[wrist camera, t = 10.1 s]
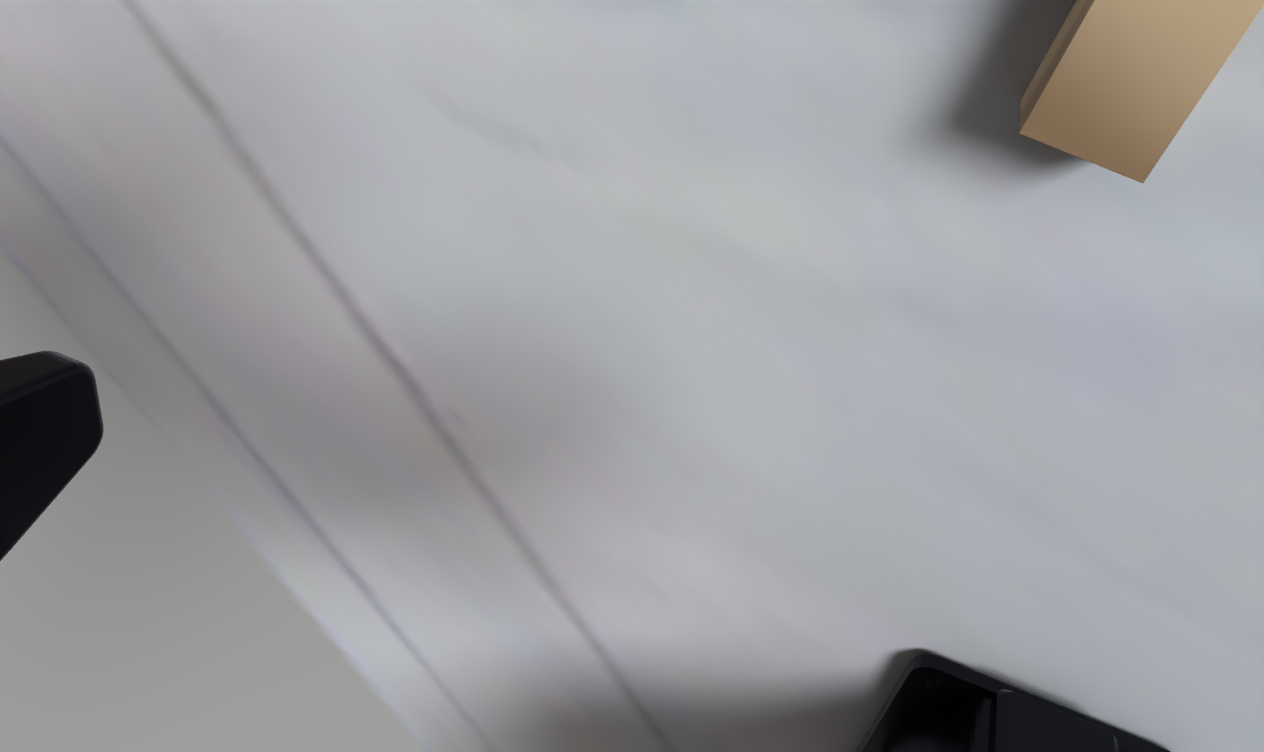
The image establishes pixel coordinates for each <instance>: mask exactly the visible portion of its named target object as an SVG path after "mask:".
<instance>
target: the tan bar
mask: <svg viewBox="0 0 1264 752" xmlns="http://www.w3.org/2000/svg"><path fill="white" fill-rule="evenodd" d="M1263 5H1264V0H1076V1H1075V3H1074V5H1073V6H1072V8H1071V10H1070V12H1069V14H1068V15H1067V17H1066V19H1065V21H1064V23H1063V25H1062V26H1061V28H1060V30H1059V32H1058V34H1057V35H1056V37H1055V39H1054V41H1053V43H1052V44H1051V46H1050V48H1049V50H1048V52H1047V53H1046V55H1045V57H1044V59H1043V61H1042V62H1041V64H1040V66H1039V68H1038V70H1037V71H1036V73H1035V75H1034V77H1033V79H1032V80H1031V82H1030V84H1029V86H1028V88H1027V89H1026V91H1025V93H1024V95H1023V97H1022V98H1021V100H1020V128H1019V133H1020V134H1022V135H1025V136H1027V137H1030V138H1032V139H1035V140H1037V141H1039V142H1042V143H1044V144H1047V145H1049V146H1052V147H1054V148H1057V149H1059V150H1062V151H1064V152H1067V153H1069V154H1072V155H1074V156H1076V157H1079V158H1081V159H1084V160H1086V161H1089V162H1091V163H1094V164H1096V165H1099V166H1101V167H1104V168H1106V169H1109V170H1111V171H1113V172H1116V173H1118V174H1121V175H1123V176H1126V177H1128V178H1131V179H1133V180H1136V181H1138V182H1141V183H1144V181H1145V180H1146V178H1147V177H1148V175H1149V174H1150V172H1151V171H1152V169H1153V168H1154V166H1155V165H1156V163H1157V162H1158V160H1159V159H1160V157H1161V156H1162V154H1163V153H1164V151H1165V150H1166V148H1167V147H1168V146H1169V144H1170V143H1171V141H1172V140H1173V138H1174V137H1175V135H1176V134H1177V132H1178V131H1179V129H1180V128H1181V126H1182V125H1183V123H1184V122H1185V120H1186V119H1187V117H1188V116H1189V114H1190V113H1191V111H1192V110H1193V108H1194V107H1195V106H1196V104H1197V103H1198V101H1199V100H1200V98H1201V97H1202V95H1203V94H1204V92H1205V91H1206V89H1207V88H1208V86H1209V85H1210V83H1211V82H1212V80H1213V79H1214V77H1215V76H1216V74H1217V73H1218V71H1219V70H1220V68H1221V67H1222V66H1223V64H1224V63H1225V61H1226V60H1227V58H1228V57H1229V55H1230V54H1231V52H1232V51H1233V49H1234V48H1235V46H1236V45H1237V43H1238V42H1239V40H1240V39H1241V37H1242V36H1243V34H1244V33H1245V31H1246V30H1247V28H1248V27H1249V26H1250V24H1251V23H1252V21H1253V20H1254V18H1255V17H1256V15H1257V14H1258V12H1259V11H1260V9H1261V8H1262V6H1263Z"/></svg>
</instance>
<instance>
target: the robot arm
mask: <svg viewBox="0 0 1264 752" xmlns="http://www.w3.org/2000/svg"><path fill="white" fill-rule="evenodd" d="M102 437H103V421H102V415H101V409H100V404H99V397H98V392H97V386H96V380H95V376H94V373H93V371H92V370H91V369H90V367H89V366H87V365H86V364H84V363H82V362H80V361H77V360H75V359H73V358H70V357H68V356H65V355H63V354H60V353H58V352H53V351H42V352H36V353H32V354H27V355H23V356H18V357H14V358H9V359H4V360H0V561H1V559H3V557H4V556H5V555H6V554H7V553H8V552H9V551H10V550H11V549H12V547H13V546H14V545H15V544H16V543H17V542H18V540H19V539H20V538H21V537H22V536H23V535H24V534H25V532H26V531H27V530H28V529H29V528H30V527H31V526H32V524H33V523H34V522H35V521H36V520H37V519H38V517H39V516H40V515H41V514H42V513H43V512H44V511H45V509H46V508H47V507H48V506H49V505H50V504H51V502H52V501H53V500H54V499H55V498H56V497H57V496H58V494H59V493H60V492H61V491H62V490H63V489H64V488H65V486H66V485H67V484H68V483H69V482H70V481H71V479H72V478H73V477H74V476H75V475H76V474H77V473H78V471H79V470H80V469H81V468H82V467H83V466H84V465H85V463H86V462H87V461H88V460H89V459H90V458H91V456H92V455H93V454H94V453H95V451H96V450H97V448H98V446H99V444H100V442H101V439H102ZM925 674H930V675H934V676H935V677H931V676H926V675H925ZM856 752H1170V751H1168V750H1166V749H1163V748H1161V747H1158V746H1156V745H1153V744H1151V743H1149V742H1146V741H1144V740H1141V739H1139V738H1136V737H1134V736H1131V735H1129V734H1126V733H1124V732H1122V731H1119V730H1117V729H1114V728H1112V727H1109V726H1107V725H1104V724H1102V723H1100V722H1097V721H1095V720H1092V719H1090V718H1087V717H1085V716H1082V715H1080V714H1078V713H1075V712H1073V711H1070V710H1068V709H1065V708H1063V707H1060V706H1058V705H1055V704H1053V703H1051V702H1048V701H1046V700H1043V699H1041V698H1038V697H1036V696H1033V695H1031V694H1029V693H1026V692H1024V691H1021V690H1019V689H1016V688H1014V687H1011V686H1009V685H1007V684H1004V683H1002V682H999V681H997V680H994V679H992V678H989V677H987V676H984V675H982V674H980V673H977V672H975V671H972V670H970V669H967V668H965V667H962V666H960V665H958V664H955V663H953V662H950V661H948V660H945V659H943V658H940V657H938V656H934V655H919V656H916V657H915V658H914V659H912V660H911V662H910V663H909V665H908V667H907V668H906V670H905V672H904V673H903V675H902V677H901V678H900V680H899V682H898V683H897V685H896V687H895V688H894V690H893V692H892V693H891V695H890V697H889V698H888V700H887V701H886V703H885V705H884V706H883V708H882V710H881V711H880V713H879V715H878V716H877V718H876V720H875V721H874V723H873V725H872V726H871V728H870V730H869V731H868V733H867V735H866V736H865V738H864V740H863V741H862V743H861V745H860V746H859V748H858V750H857V751H856Z"/></svg>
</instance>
